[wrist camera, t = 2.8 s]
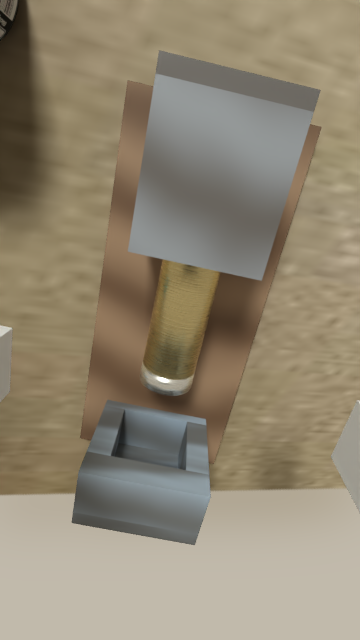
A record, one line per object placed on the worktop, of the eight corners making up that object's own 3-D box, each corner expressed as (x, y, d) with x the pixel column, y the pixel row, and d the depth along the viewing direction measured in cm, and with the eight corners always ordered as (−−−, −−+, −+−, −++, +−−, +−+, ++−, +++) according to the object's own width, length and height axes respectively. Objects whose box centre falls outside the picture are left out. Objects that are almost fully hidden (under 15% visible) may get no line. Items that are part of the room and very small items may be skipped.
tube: (190, 120, 20) (190, 106, 16) (252, 134, 20) (264, 124, 17) (143, 362, 26) (135, 389, 22) (191, 372, 26) (191, 400, 22)
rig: (131, 85, 22) (92, 22, 13) (314, 129, 22) (390, 95, 14) (84, 429, 31) (44, 518, 23) (212, 454, 32) (220, 549, 23)
